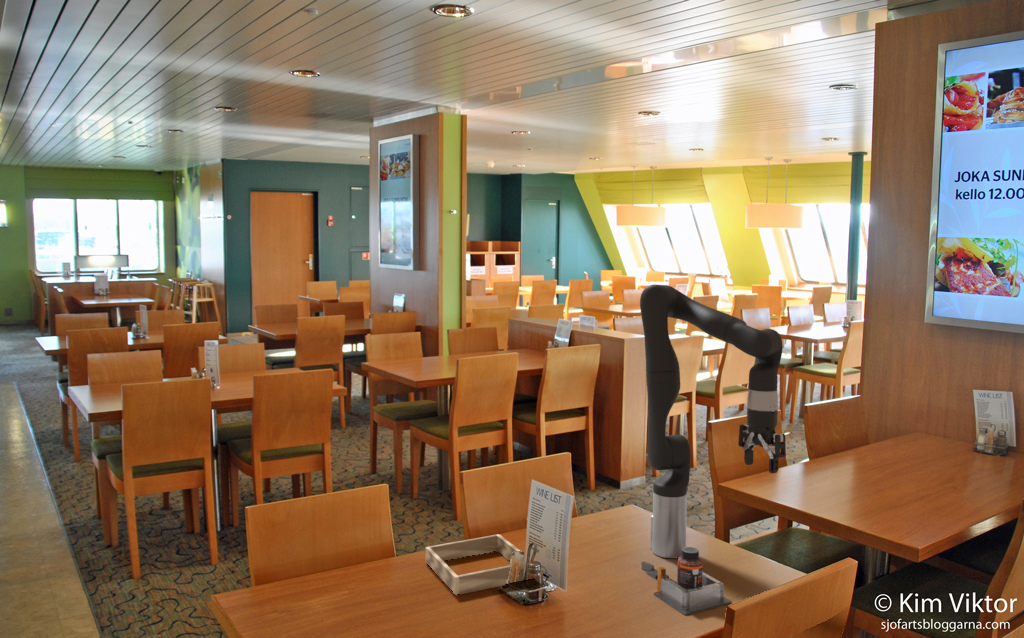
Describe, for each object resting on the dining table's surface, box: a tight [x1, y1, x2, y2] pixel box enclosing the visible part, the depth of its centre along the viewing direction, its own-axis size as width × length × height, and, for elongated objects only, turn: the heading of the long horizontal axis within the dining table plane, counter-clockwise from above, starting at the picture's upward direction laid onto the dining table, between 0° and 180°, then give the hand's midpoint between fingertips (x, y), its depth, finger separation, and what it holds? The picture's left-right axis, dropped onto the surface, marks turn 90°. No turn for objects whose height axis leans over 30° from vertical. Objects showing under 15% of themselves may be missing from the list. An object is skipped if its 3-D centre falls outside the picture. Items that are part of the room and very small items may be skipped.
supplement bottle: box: [676, 546, 704, 590], centre depth 184 cm, size 6×6×11 cm
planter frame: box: [424, 533, 521, 596], centre depth 200 cm, size 22×22×4 cm
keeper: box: [653, 566, 733, 616], centre depth 184 cm, size 12×14×6 cm
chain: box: [641, 560, 677, 584], centre depth 196 cm, size 14×2×2 cm, turn 26°
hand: (760, 468), depth 196 cm, fingers open, 8 cm apart
